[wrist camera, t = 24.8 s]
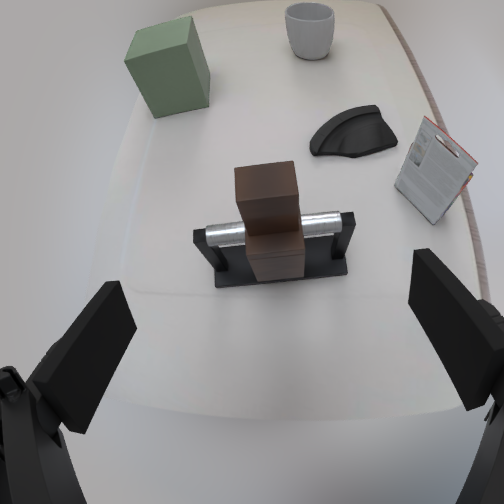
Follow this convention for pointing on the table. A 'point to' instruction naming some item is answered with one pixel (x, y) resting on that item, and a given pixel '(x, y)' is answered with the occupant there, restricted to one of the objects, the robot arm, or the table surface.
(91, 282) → the table surface
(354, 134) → the curved wedge
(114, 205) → the table surface
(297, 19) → the mug
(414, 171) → the ink box
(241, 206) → the brown arch stand
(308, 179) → the table surface
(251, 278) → the rail stand
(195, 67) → the plinth
